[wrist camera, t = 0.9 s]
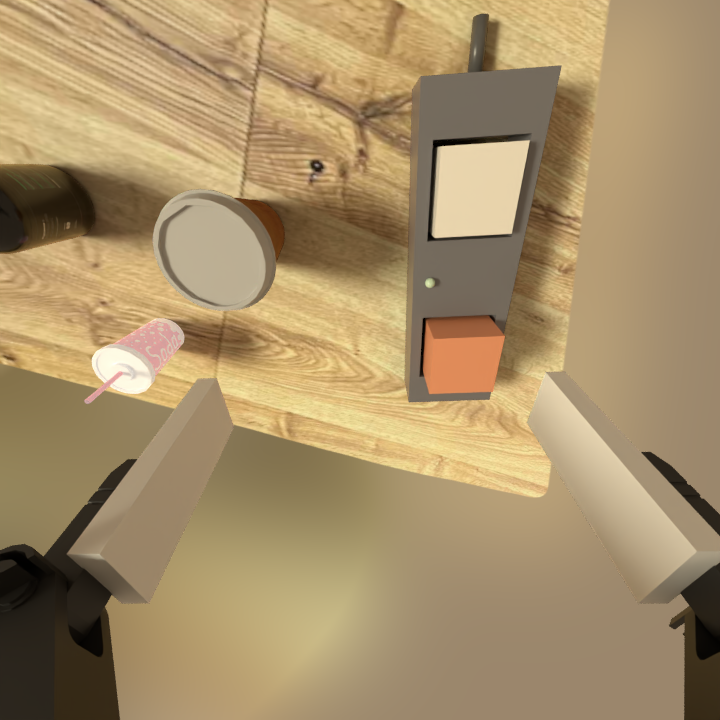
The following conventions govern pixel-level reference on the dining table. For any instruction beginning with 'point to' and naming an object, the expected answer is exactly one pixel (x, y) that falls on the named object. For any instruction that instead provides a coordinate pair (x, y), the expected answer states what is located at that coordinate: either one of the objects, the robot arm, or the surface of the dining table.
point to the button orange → (461, 354)
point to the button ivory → (475, 188)
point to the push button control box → (425, 253)
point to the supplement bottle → (40, 207)
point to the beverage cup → (137, 357)
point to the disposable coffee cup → (218, 248)
